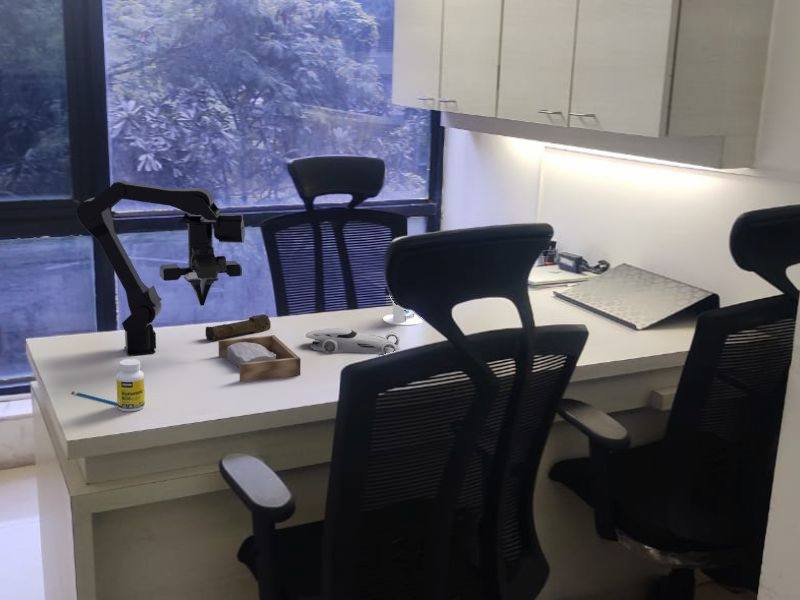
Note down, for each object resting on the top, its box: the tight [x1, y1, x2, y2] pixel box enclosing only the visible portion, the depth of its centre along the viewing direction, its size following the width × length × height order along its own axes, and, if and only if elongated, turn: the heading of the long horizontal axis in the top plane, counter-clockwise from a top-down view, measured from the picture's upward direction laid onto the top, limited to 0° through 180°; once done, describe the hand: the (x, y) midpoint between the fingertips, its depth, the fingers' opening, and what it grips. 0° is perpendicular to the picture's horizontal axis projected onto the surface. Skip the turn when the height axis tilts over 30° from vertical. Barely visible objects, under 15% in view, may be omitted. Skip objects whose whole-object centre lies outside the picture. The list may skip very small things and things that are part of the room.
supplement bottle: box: [115, 358, 146, 413], centre depth 182 cm, size 5×5×10 cm
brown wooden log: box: [205, 314, 271, 342], centre depth 236 cm, size 19×4×5 cm, turn 130°
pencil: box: [71, 390, 117, 406], centre depth 186 cm, size 1×17×1 cm, turn 62°
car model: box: [305, 327, 401, 356], centre depth 229 cm, size 11×24×5 cm, turn 86°
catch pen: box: [217, 334, 302, 383], centre depth 212 cm, size 14×20×4 cm
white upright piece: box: [382, 295, 424, 327], centre depth 254 cm, size 12×11×15 cm
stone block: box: [226, 342, 277, 368], centre depth 215 cm, size 12×5×10 cm
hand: (201, 305), depth 218 cm, fingers closed
